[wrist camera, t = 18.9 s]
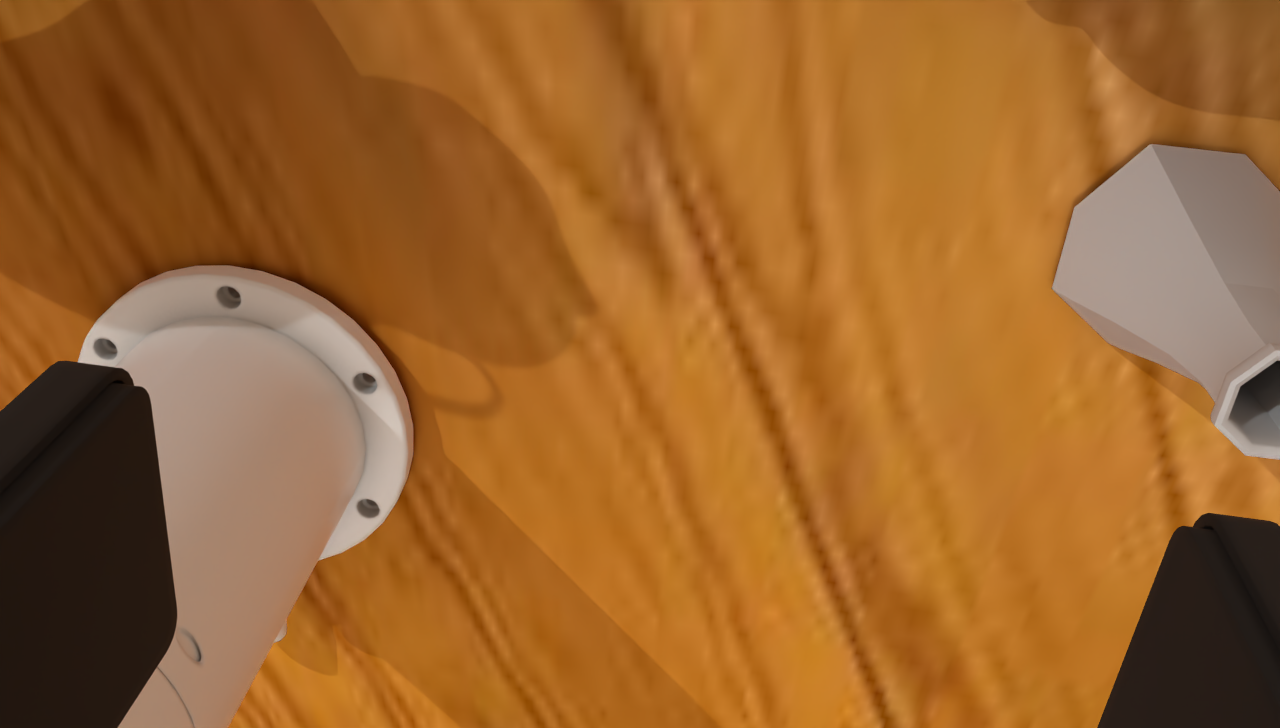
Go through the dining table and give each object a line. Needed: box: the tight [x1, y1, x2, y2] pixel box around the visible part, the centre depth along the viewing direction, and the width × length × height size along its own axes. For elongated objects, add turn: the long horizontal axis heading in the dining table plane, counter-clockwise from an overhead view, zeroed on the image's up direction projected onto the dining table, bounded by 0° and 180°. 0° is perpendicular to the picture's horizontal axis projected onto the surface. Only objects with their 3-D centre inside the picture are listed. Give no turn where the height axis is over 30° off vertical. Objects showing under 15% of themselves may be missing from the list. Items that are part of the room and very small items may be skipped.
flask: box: [1052, 144, 1280, 460], centre depth 34 cm, size 7×7×10 cm
